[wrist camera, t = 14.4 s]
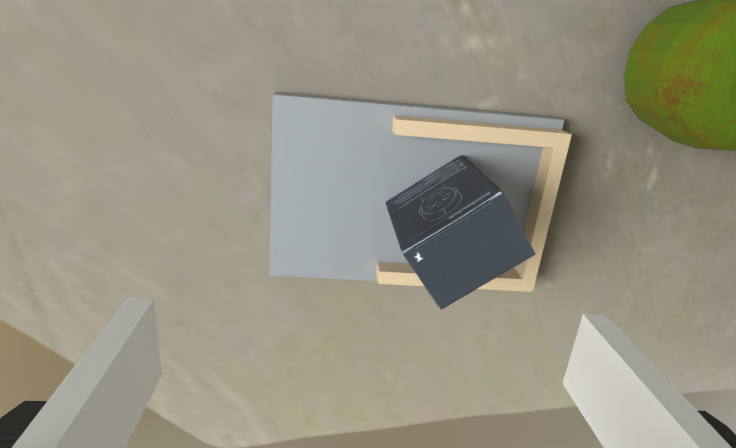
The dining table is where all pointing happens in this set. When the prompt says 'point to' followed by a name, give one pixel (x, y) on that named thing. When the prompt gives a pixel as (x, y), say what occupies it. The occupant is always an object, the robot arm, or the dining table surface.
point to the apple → (687, 74)
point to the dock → (395, 180)
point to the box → (457, 231)
